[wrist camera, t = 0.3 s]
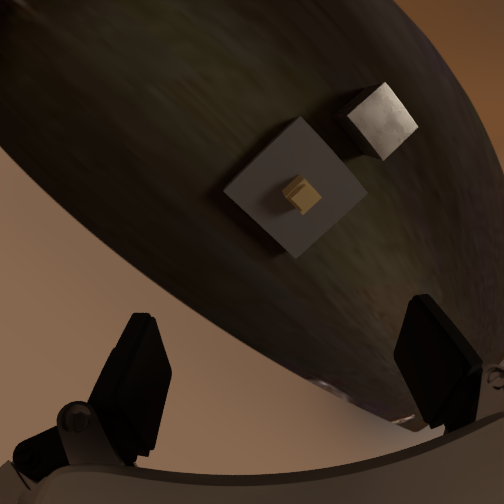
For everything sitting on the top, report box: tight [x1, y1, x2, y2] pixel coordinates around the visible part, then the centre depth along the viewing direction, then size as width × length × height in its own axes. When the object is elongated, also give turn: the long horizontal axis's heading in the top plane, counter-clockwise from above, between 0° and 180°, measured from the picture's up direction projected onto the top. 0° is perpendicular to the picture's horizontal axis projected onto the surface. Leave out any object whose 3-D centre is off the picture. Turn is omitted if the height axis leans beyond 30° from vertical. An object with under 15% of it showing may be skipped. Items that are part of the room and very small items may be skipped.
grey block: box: [223, 116, 368, 259], centre depth 34 cm, size 13×13×7 cm
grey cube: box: [333, 82, 418, 161], centre depth 30 cm, size 7×7×6 cm
